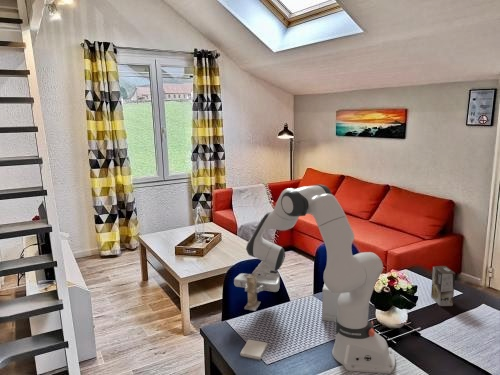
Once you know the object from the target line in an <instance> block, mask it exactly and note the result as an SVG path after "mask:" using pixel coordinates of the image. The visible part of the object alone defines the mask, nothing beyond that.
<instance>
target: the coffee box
mask: <svg viewBox="0 0 500 375" xmlns="http://www.w3.org/2000/svg"><path fill="white" fill-rule="evenodd" d="M431 276H432V278H431V292H430V297H431V298H432V300H433V301H434V302H435V303H436V304H437V305H438V306H439V307H452V306H453V305H454V294H455V286H456V285H455V283H456V273H455V271H453V270H452V269H451V268H449V267H448V266H447V265H438V266H437V265H436V266H435V265H434V266H432V275H431Z"/></svg>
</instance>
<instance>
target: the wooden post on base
mask: <svg viewBox="0 0 500 375" xmlns="http://www.w3.org/2000/svg"><path fill="white" fill-rule="evenodd" d="M255 288H256V275H249V276H248V277H247V290H248V292H247V303H246V305H245V306H244V308H243V309H244V310H247V311H248V310H249V311H254V312H256V311H257V310H258V308H259V306H260V304H261V301H259V300H258V293H255Z"/></svg>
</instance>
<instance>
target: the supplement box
mask: <svg viewBox="0 0 500 375" xmlns="http://www.w3.org/2000/svg"><path fill="white" fill-rule="evenodd" d="M321 295H322V296H321V297H322V299H321V300H322V301H321V302H322V305H321V306H322V307H321V312H322V313H321V315H322V316H321V320H322V321H325V322H326V321H327V322H333V323H336V318H337V304H338V298H339V296H340V295H341V293H340V294H335V293H333V292H331V291H330V290H329V289H328V288H327V287H326V285H325V283H324V284H323V287H322V294H321Z"/></svg>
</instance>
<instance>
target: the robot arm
mask: <svg viewBox="0 0 500 375" xmlns="http://www.w3.org/2000/svg"><path fill="white" fill-rule="evenodd" d="M306 215H312V216H313V218H314V220H315V222H316V225H317V228H318V230H319V232H320V235H321V237H322V241H323V242H324V245H325V249H326V265H325V269H324V271H323V274H322V275H323V277H322V279H323V282H324V283H325V285H326V287H327V288H328V289H329V290H330V291H331V292H333V293H335V294H340V293H341V295H340V296H339V298H338V304H337V318H336V322H335V341H334V344H333V348H332V350H331V353H332V357H333V358H334V359H335V360H336V361H337V362H338V363H339V364H341V365H342V366H343V367H344V368H345V370H347V371H349V372H350V371H351V372H361V373H362V372H363V373H375V374H376V373H377V374H378V373H379V374H391V373H393V371H394V369H395V367H396V358H395V354H394V352H393V350H392V349H390V348H389V345H388V343H387V340H386V339H385V338H384V337H383V336H382V335H380V334H379V333H377V332H376V331H375V329H374V328H375V327H374V322H373V320H371V322H370V320H369V311H370V302H371V297H372V295H373V292H374V289H375V285H376V283H377V281H378V279H379V277H380V276H381V274H382V273H383V270H384V265H383V261H382V259H381V258H380V257H379V255H378V254H376V253H374V252H372V251H366V252H365V251H364V252H358V253H356V254H353V251H352V250H353V248H352V246H353V243H354V240H355V233H354V231H353V229H352V226H351V224H350V222H349V219H348V217H347V215H346V213H345V211H344V209H343V207H342V206H341V203H339V201H338V199H337V198H336V196H335V195H334V194H332V191H331V189H330V188H329V187H328V186H327V185H324V184H314V185H308V186H307V185H304V186H300V187H297V188H293V187H290V188H289V187H288V188H285V189H284V190H282V191H281V193H280V195H279V197H278V199H277V201H276V204H275V206H274V208H273V210H272V211H269V212H266V214H265V215H264V216H263V217H262V219H261V220H260V222H259V224H258V225H257V227H256V229H255V231H254V233H253V235H252V236H251V237H250V239H249V240H248V242H247V244H246V247H245V249H246V252H247V254H248V256H250V257H253V258H256V259H258V260H260V261H261V262H260V263H258V265H257V266H256V267H255V269H254V270H253V271H252V273H246V272H245V273H243V272H242V273H239V274H238V275H237V276H236V277H234V279H233V284H234V286H235V287H237V288H244V292H247V293H248V290H247V277H248V276H249V275H256V288H255V293H257V294H259V293H260V292H264V291H267V292H273V293H277V292H278V291H279V289H280V284H281V281H280V280H281V279H280V278H281V276H280V275H281V274H280V272H278V270H280V268H281V267H282V265H283V264H284V261H285V257H286V252H285V249H284V248H283V246H280V245H278V244H276V243H274V242H271V241H269V240H267V239H266V238H264V237H263V235H264V234H265V233H266V231H267V230H277V231H287V230H290V229H292V228H294V226H295V225H296V224H297V222H298V220H299V218H300V217H305V216H306Z"/></svg>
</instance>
